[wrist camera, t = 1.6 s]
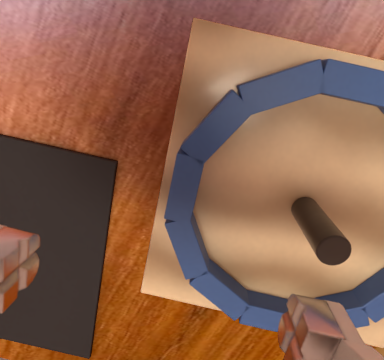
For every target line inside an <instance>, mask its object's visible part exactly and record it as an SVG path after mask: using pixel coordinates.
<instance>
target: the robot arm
mask: <svg viewBox="0 0 384 360" xmlns="http://www.w3.org/2000/svg"><path fill="white" fill-rule="evenodd" d="M39 247H40V236H39V235H38V234H36V233H32V232H28V231H25V230H21V229H17V228H13V227H9V226H8V227H7V226H5V225H1V224H0V313H3V312H4V311H5V310H6V309H7V308H8V307H9V306H10V305H11V304H12V303H13V302H14V301H15V300H16V299H17V293H18V291H20V290H22V289H25V288H27V287H28V286H29V284H30V283H31V282H32V281H33V279H34V277H35V275H36V274H37V271H38V267H39V257H38V255H37V253H36V252H35V251H36V250H37V249H38V248H39ZM286 305H287V308H288V311H287V312H286V313H284V314H282V316H281V319H280V322H279V326H278V342H279V346H280V348H281V349H282V350H283V351H284V353H285V356H284V358H283V360H384V357H383V356H382V355H381V354H380V353H378V352H377V351H376V350H375V349H374V348H372V347H371V346H368V345H365V343H364V341H363V340H362V338H361V336H360V334H359V333H358V331H357V329H356V328H355V326H354V324H353V322H352V321H351V319H350V317H349V315H348V314H347V312H346V310H345V308H344V307H343V305H341V304H340V303H337V302H332V301H327V300H320V299H315V298H311V297H306V296H302V295H297V294H291V295H290V296H289V298H288V300H287V303H286ZM0 360H8V359H4V358H0Z"/></svg>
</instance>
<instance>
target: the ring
mask: <svg viewBox="0 0 384 360" xmlns="http://www.w3.org/2000/svg"><path fill="white" fill-rule="evenodd" d="M237 89H238V93H239V95H238V94H237V93H236V92H235V91H234V90H230V91H229V92H228V93H227V94H226V95H225V96H224V97H223V98H222V100H221V101H220V102H219V103H218V104H217V105H216V106H215V107H214V108H213V109H212V110H211V112H210V113H209V114H208V115H207V116H206V117H205V118H204V119H203V120H202V121H201V123H200V124H199V125H198V126H197V127H196V128H195V129H194V130H193V131H192V132H191V134H190V135H189V136H188V137H187V138H186V139H185V140H184V141H183V143H182V145H181V147H180V149H179V151H178V153H177V155H176V160H175V165H174V170H173V175H172V180H171V185H170V190H169V195H168V200H167V205H166V210H165V215H164V219H166V221H165V227H166V230H167V232H168V235H169V238H170V240H171V243H172V245H173V248H174V251H175V253H176V256H177V259H178V261H179V264H180V266H181V269H182V272H183V274H184V277H185V279H186V280H187V279H190V280H189V284H190V285H191V286H192V287H193V288H195V289H196V290H197V291H198V292H199V293H201V294H202V295H203V296H204V297H206V298H207V299H208V300H209V301H211V302H212V303H213V304H214V305H216V306H217V307H218V308H219V309H220V310H222V311H223V312H224V313H225V314H227V315H228V316H229V317H230V318H232V319H233V320H234V321H235V320H236V319H238V318H239V323H240V324H244V325H249V326H253V327H257V328H262V329H266V330H270V331H275V332H278V326H279V322H280V319H281V316H282V314H284V313H286V312H287V311H288V308H287V305H286V303H287V300H288V299H285V298H281V297H277V296H272V295H268V294H264V293H259V292H255V291H250V290H246V289H245V288H244V287H243V286H242V285H240V284H239V283H238V282H237V281H236V280H235V279H233V278H232V277H231V276H230V275H229V274H227V273H226V272H225V271H224V270H223V269H221V268H220V267H219V266H218V265H217V264H215V263H214V262H213V261H212V260H211V259H210V258H209V256H208V254H207V251H206V248H205V245H204V242H203V239H202V236H201V233H200V230H199V228H198V225H197V222H196V219H195V216H194V213H193V209H194V205H195V201H196V197H197V192H198V188H199V184H200V180H201V175H202V171H203V167H204V163H205V162H206V161H207V160H208V159H209V158H210V157H211V156H212V155H213V154H214V153H215V152H216V151H217V150H218V149H219V148H220V147H221V146H222V145H223V144H224V143H225V141H226V140H227V139H228V138H229V137H230V136H231V135H232V134H233V133H234V132H235V131H236V130H237V129H238V128H239V127H240V126H241V125H242V124H243V123H244V122H245V121H246V120H247V119H248V118H249V117H250V116H251V115H252V114H256V113H259V112H262V111H265V110H269V109H272V108H275V107H278V106H281V105H285V104H288V103H291V102H294V101H297V100H301V99H304V98H307V97H310V96H314V95H317V94H323V95H328V96H332V97H337V98H341V99H346V100H350V101H354V102H359V103H363V104H368V105H372V106H376V107H378V108H379V109H380V110H381V112H382V113H383V114H384V71H382V70H378V69H373V68H369V67H365V66H360V65H356V64H351V63H347V62H342V61H338V60H334V59H324V60H321V59H317V60H313V61H309V62H306V63H303V64H300V65H297V66H294V67H291V68H288V69H285V70H282V71H279V72H276V73H273V74H270V75H267V76H264V77H260V78H257V79H254V80H251V81H248V82H245V83H242V84H239V85H237ZM315 299H320V300H327V301H332V302H337V303H340V304H341V305H343V307H344V308H345V310H346V312H347V314H348V315H349V317H350V319H351V321H352V322H353V324H354V326H355V328H359V327H365V326H369V325H370V323H369V318H370V319H371V320H372V321H373V322H375V323H376V322H378V321H379V320H381V319H382V318H384V268H382V269H381V270H379V271H378V272H377V273H375V274H374V275H373V276H371V277H370V278H368V279H367V280H366V281H364V282H363V283H361V284H360V285H359V286H357V287H356V288H354V289H353V290H351V291H346V292H341V293H336V294H331V295H326V296H321V297H316V298H315ZM368 317H369V318H368Z"/></svg>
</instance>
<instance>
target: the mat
mask: <svg viewBox="0 0 384 360" xmlns="http://www.w3.org/2000/svg"><path fill="white" fill-rule="evenodd" d="M116 169H117V161H115V160H110V159H106V158H102V157H97V156H93V155H88V154H84V153H80V152H75V151H71V150H66V149H62V148H58V147H53V146H49V145H45V144H40V143H36V142H31V141H27V140H23V139H18V138H14V137H9V136H5V135H1V134H0V224H1V225H5V226H7V227H8V226H9V227H13V228H17V229H21V230H25V231H28V232H32V233H36V234H38V235H39V236H40V247H39V248H38V249H37V250H36V251H35V252H36V253H37V255H38V257H39V267H38V271H37V274H36V275H35V277H34V279H33V281H32V282H31V283H30V284H29V286H28V287H27V288H25V289H22V290H20V291H18V293H17V299H16V300H15V301H14V302H13V303H12V304H11V305H10V306H9V307H8V308H7V309H6V310H5V311H4V312H3V313H0V338H1V339H6V340H10V341H14V342H19V343H23V344H28V345H32V346H36V347H41V348H45V349H49V350H54V351H58V352H62V353H67V354H71V355H75V356H80V357H84V358H88V359H89V358H90V356H91V350H92V343H93V336H94V329H95V321H96V314H97V307H98V300H99V292H100V285H101V278H102V271H103V263H104V256H105V249H106V242H107V234H108V227H109V220H110V212H111V205H112V198H113V191H114V183H115V176H116Z"/></svg>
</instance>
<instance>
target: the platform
mask: <svg viewBox="0 0 384 360" xmlns="http://www.w3.org/2000/svg"><path fill="white" fill-rule="evenodd" d="M317 59H321V60H324V59H334V60H338V61H342V62H347V63H351V64H356V65H360V66H365V67H369V68H373V69H378V70H382V71H384V60H380V59H375V58H371V57H366V56H362V55H358V54H353V53H349V52H344V51H340V50H335V49H331V48H326V47H322V46H318V45H313V44H309V43H304V42H300V41H295V40H291V39H287V38H282V37H278V36H273V35H269V34H264V33H260V32H256V31H251V30H247V29H242V28H238V27H233V26H229V25H225V24H220V23H216V22H211V21H207V20H202V19H198V18H193V21H192V26H191V32H190V37H189V42H188V47H187V53H186V58H185V63H184V68H183V73H182V79H181V84H180V89H179V94H178V99H177V105H176V110H175V115H174V120H173V125H172V131H171V136H170V141H169V146H168V152H167V157H166V162H165V167H164V172H163V178H162V183H161V188H160V193H159V198H158V204H157V209H156V214H155V219H154V225H153V230H152V235H151V240H150V245H149V251H148V256H147V261H146V266H145V271H144V277H143V282H142V287H141V293H146V294H150V295H154V296H159V297H163V298H167V299H172V300H176V301H181V302H185V303H189V304H194V305H198V306H202V307H207V308H211V309H215V310H220V309H219V308H218V307H217V306H216V305H214V304H213V303H212V302H211V301H209V300H208V299H207V298H206V297H204V296H203V295H202V294H201V293H199V292H198V291H197V290H196V289H195V288H193V287H192V286H191V285H190V284H189V280H190V279H187V280H186V279H185V277H184V274H183V272H182V269H181V266H180V264H179V261H178V259H177V256H176V253H175V251H174V248H173V245H172V243H171V240H170V238H169V235H168V232H167V230H166V227H165V221H166V219H164V215H165V210H166V205H167V200H168V195H169V190H170V185H171V180H172V175H173V170H174V165H175V160H176V155H177V153H178V151H179V149H180V147H181V145H182V143H183V141H184V140H185V139H186V138H187V137H188V136H189V135H190V134H191V132H192V131H193V130H194V129H195V128H196V127H197V126H198V125H199V124H200V123H201V121H202V120H203V119H204V118H205V117H206V116H207V115H208V114H209V113H210V112H211V110H212V109H213V108H214V107H215V106H216V105H217V104H218V103H219V102H220V101H221V100H222V98H223V97H224V96H225V95H226V94H227V93H228V92H229V91H230V90H234V91H235V92H236V93H237V94H238V95H239V93H238V89H237V85H239V84H242V83H245V82H248V81H251V80H254V79H257V78H260V77H264V76H267V75H270V74H273V73H276V72H279V71H282V70H285V69H288V68H291V67H294V66H297V65H300V64H303V63H306V62H309V61H313V60H317ZM193 213H194V216H195V219H196V222H197V225H198V228H199V230H200V233H201V236H202V239H203V242H204V245H205V248H206V251H207V254H208V256H209V258H210V259H211V260H212V261H213V262H214V263H215V264H217V265H218V266H219V267H220V268H221V269H223V270H224V271H225V272H226V273H227V274H229V275H230V276H231V277H232V278H233V279H235V280H236V281H237V282H238V283H239V284H240V285H242V286H243V287H244V288H245V289H246V290H250V291H255V292H259V293H264V294H268V295H272V296H277V297H281V298H285V299H288V298H289V296H290V295H291V294H297V295H302V296H306V297H311V298H316V297H321V296H326V295H331V294H336V293H341V292H346V291H351V290H353V289H354V288H356V287H357V286H359V285H360V284H361V283H363V282H364V281H366V280H367V279H368V278H370V277H371V276H373V275H374V274H375V273H377V272H378V271H379V270H381V269H382V268H384V114H383V113H382V112H381V110H380V109H379V108H378V107H376V106H372V105H368V104H363V103H359V102H354V101H350V100H346V99H341V98H337V97H332V96H328V95H323V94H317V95H314V96H310V97H307V98H304V99H301V100H297V101H294V102H291V103H288V104H285V105H281V106H278V107H275V108H272V109H269V110H265V111H262V112H259V113H256V114H252V115H251V116H250V117H249V118H248V119H247V120H246V121H245V122H244V123H243V124H242V125H241V126H240V127H239V128H238V129H237V130H236V131H235V132H234V133H233V134H232V135H231V136H230V137H229V138H228V139H227V140H226V141H225V143H224V144H223V145H222V146H221V147H220V148H219V149H218V150H217V151H216V152H215V153H214V154H213V155H212V156H211V157H210V158H209V159H208V160H207V161H206V162H205V163H204V167H203V171H202V175H201V180H200V184H199V188H198V192H197V197H196V201H195V205H194V209H193ZM220 311H222V310H220ZM368 318H369V317H368ZM369 323H370V325H369V326H365V327H359V328H356V329H357V331H358V333H359V334H360V336H361V338H362V340H363V341H364V343H365V344H368V345H372V346H377V347H381V348H384V318H382V319H381V320H379V321H378V322H376V323H375V322H373V321H372V320H371V319H370V318H369Z"/></svg>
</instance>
